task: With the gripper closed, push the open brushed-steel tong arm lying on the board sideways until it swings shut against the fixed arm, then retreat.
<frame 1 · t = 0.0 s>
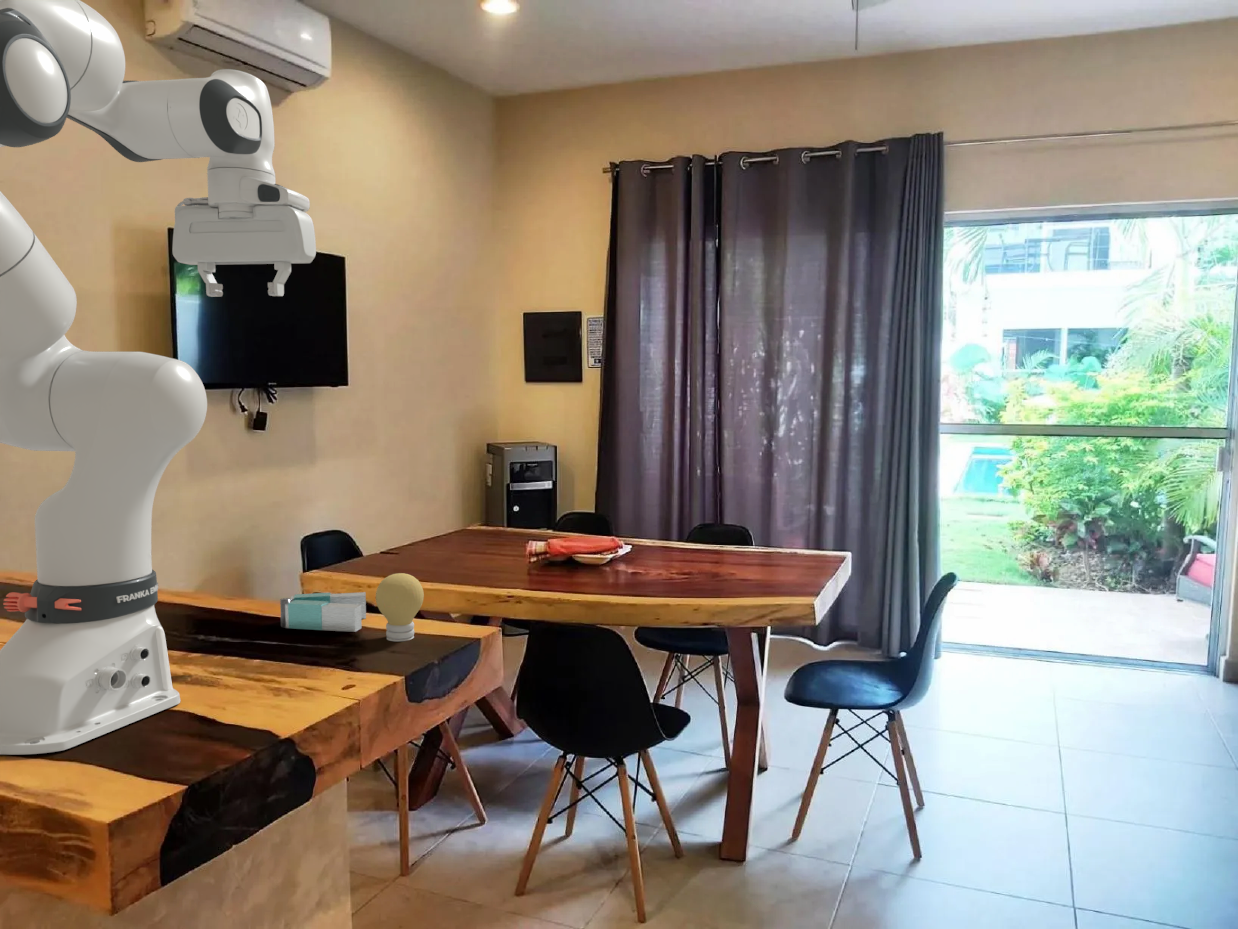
hand: (245, 296, 127), 48 cm above the counter, fingers open, 8 cm apart
board: (329, 629, 131), on the counter
tongs fixed arm: (286, 626, 129), resting on board
light bulb: (400, 646, 123), on the counter
tong arm: (328, 606, 132), point 3 cm above the counter, hinge at 25.0°
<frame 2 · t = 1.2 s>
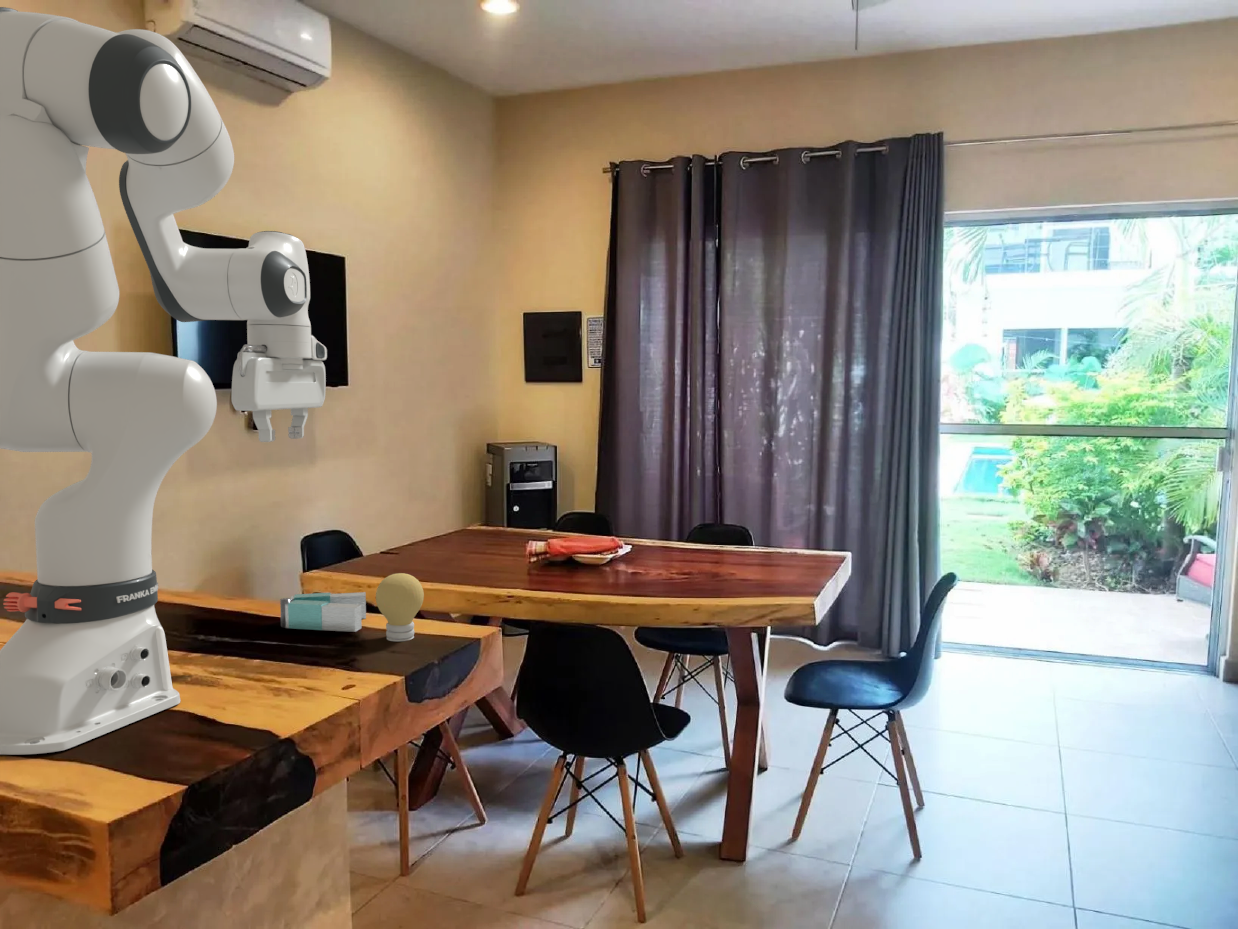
hand: (282, 440, 134), 27 cm above the counter, fingers open, 7 cm apart
nothing on the counter moved.
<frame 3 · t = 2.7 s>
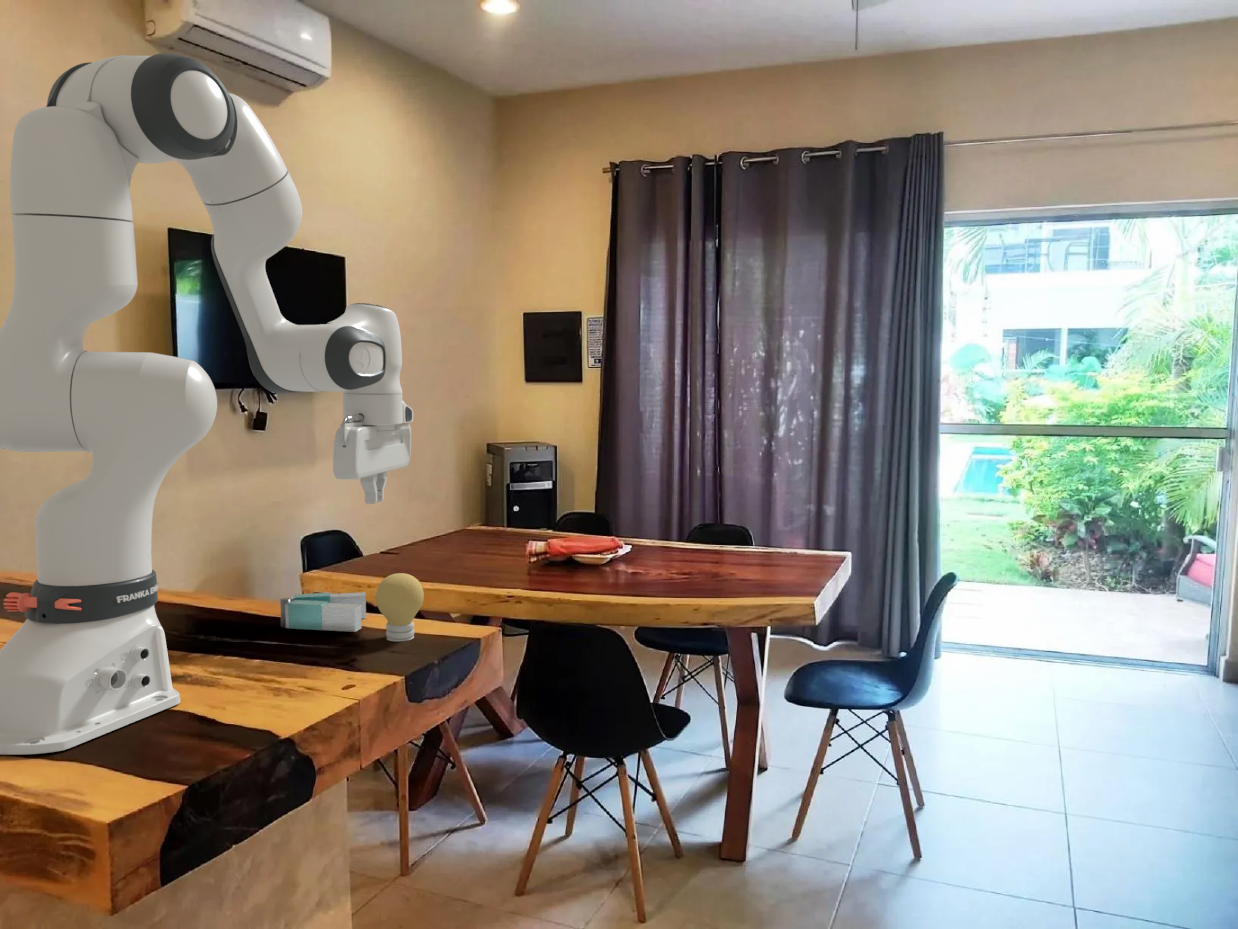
hand: (374, 502, 138), 18 cm above the counter, fingers closed
nothing on the counter moved.
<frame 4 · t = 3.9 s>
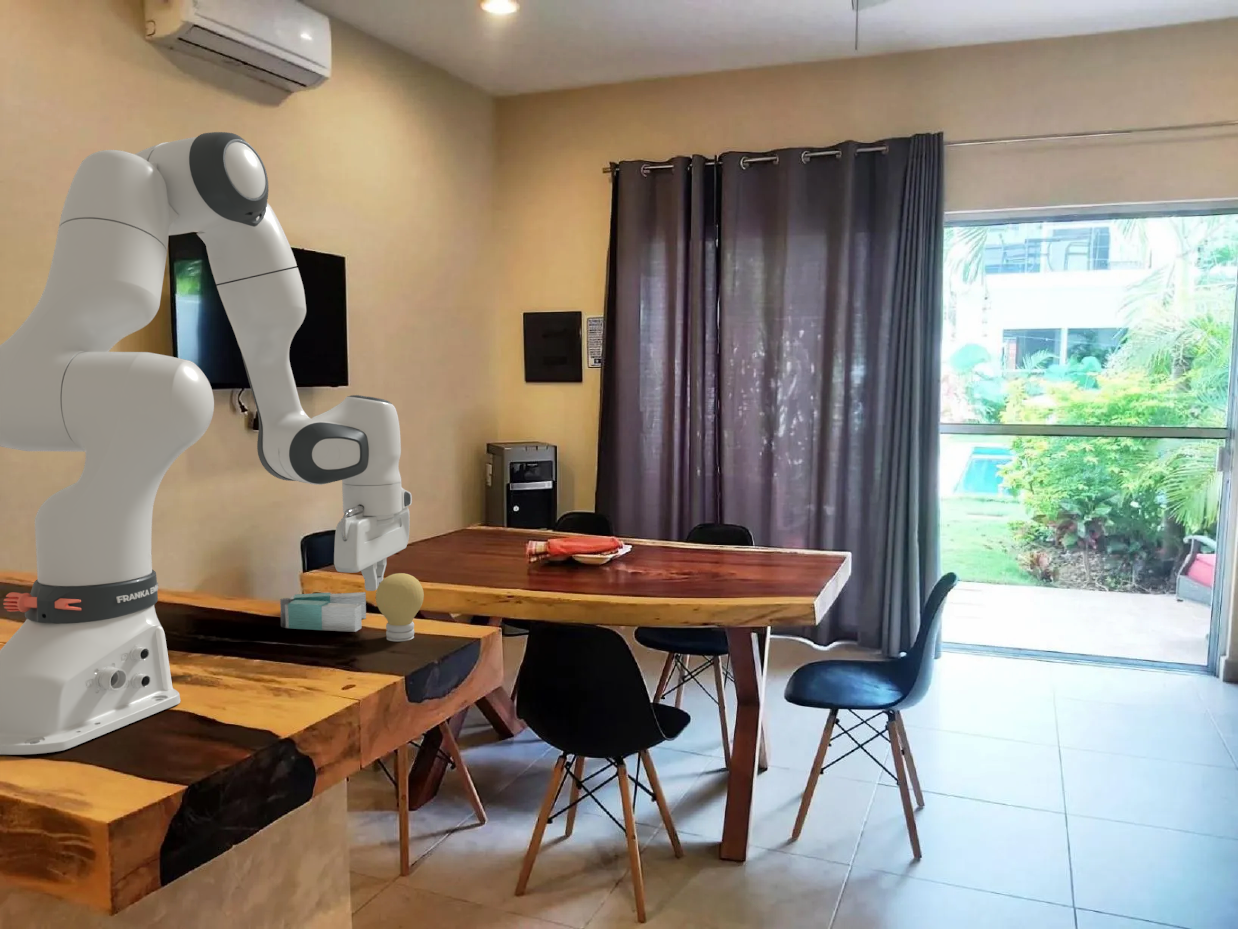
hand: (374, 588, 140), 4 cm above the counter, fingers closed
nothing on the counter moved.
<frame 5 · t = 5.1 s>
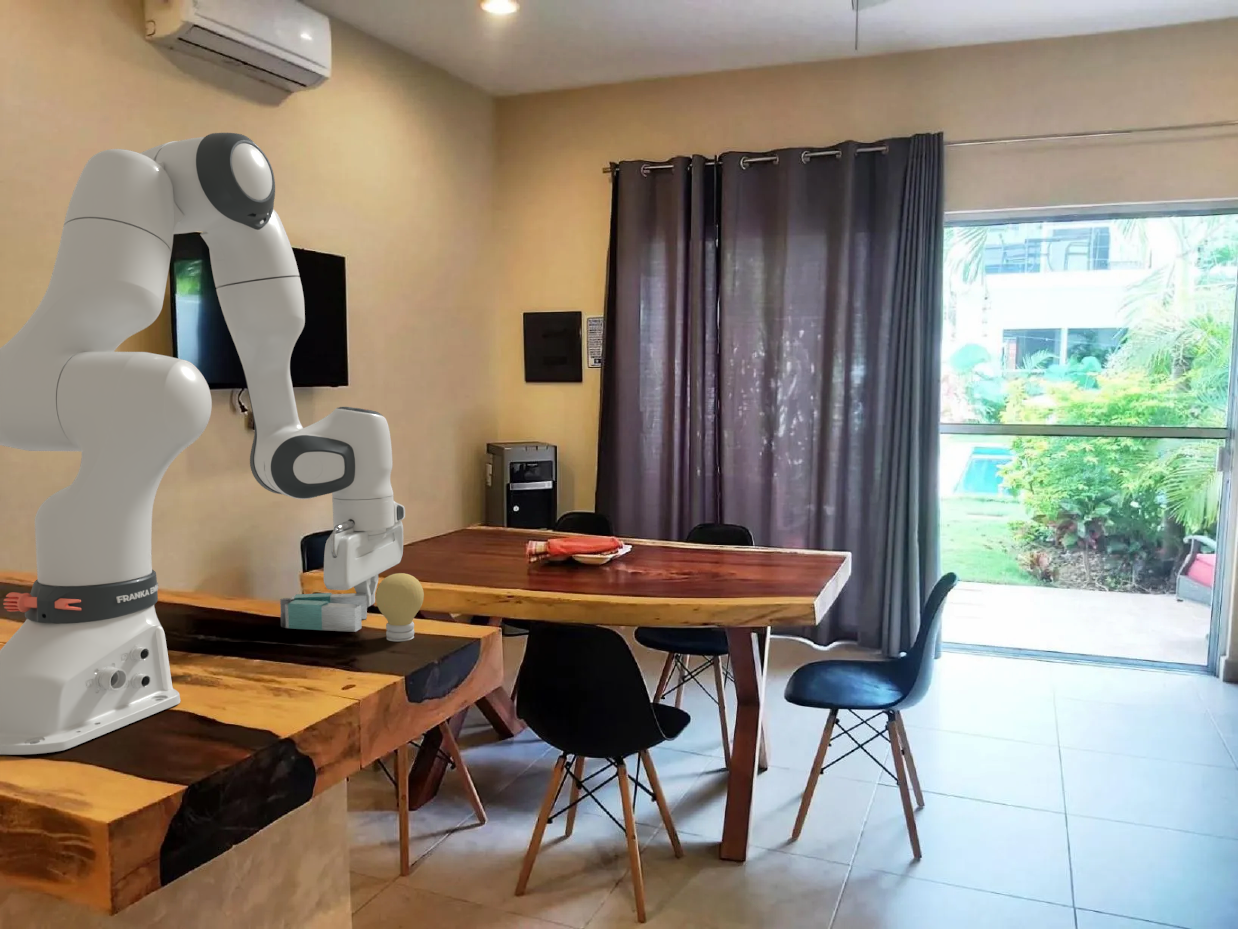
hand: (366, 605, 136), 2 cm above the counter, fingers closed
tong arm: (329, 606, 132), point 3 cm above the counter, hinge at 22.7°, touching gripper
everything else where it was.
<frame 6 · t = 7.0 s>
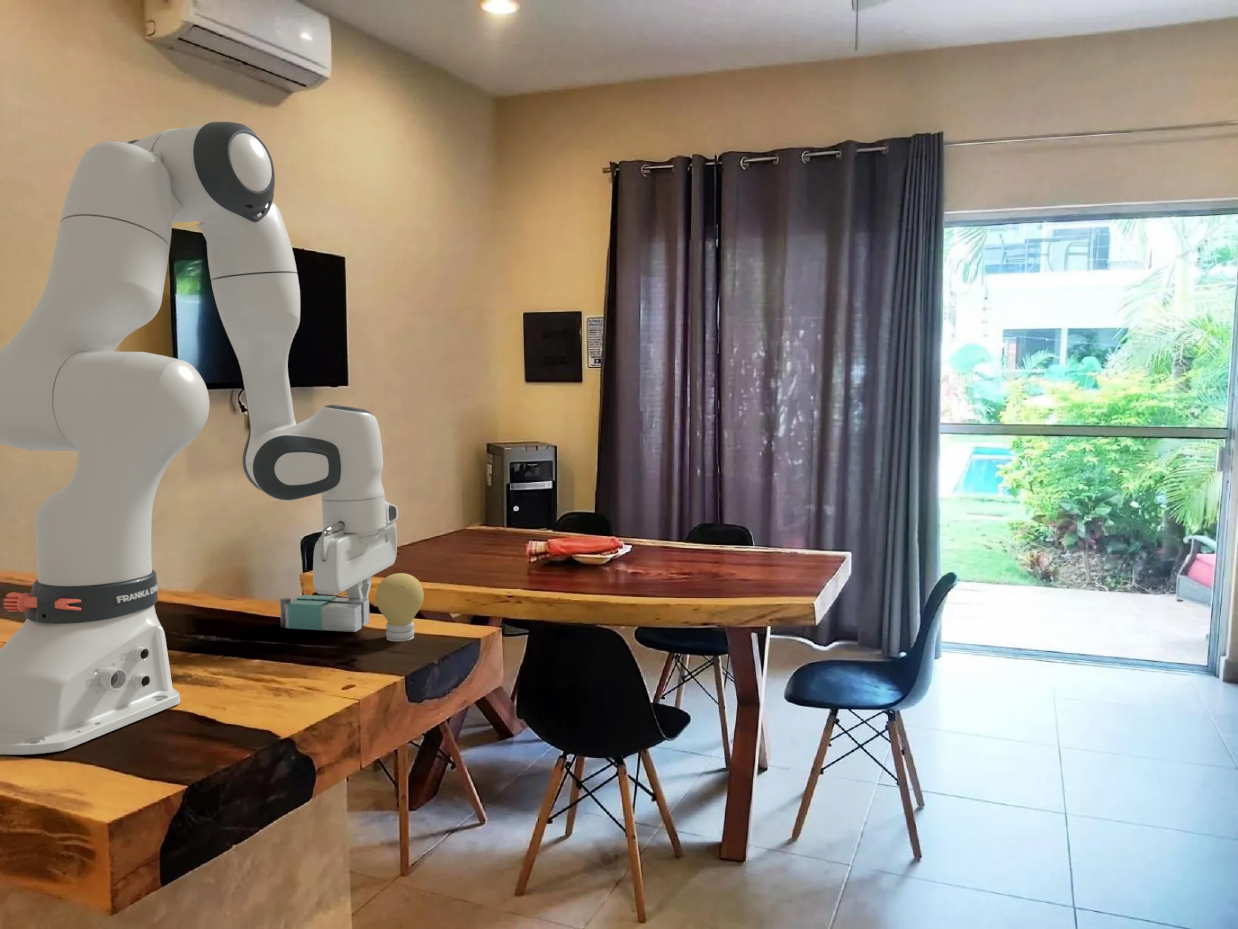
hand: (359, 609, 132), 3 cm above the counter, fingers closed
tong arm: (331, 610, 130), point 3 cm above the counter, hinge at 3.1°, touching gripper
everything else where it was.
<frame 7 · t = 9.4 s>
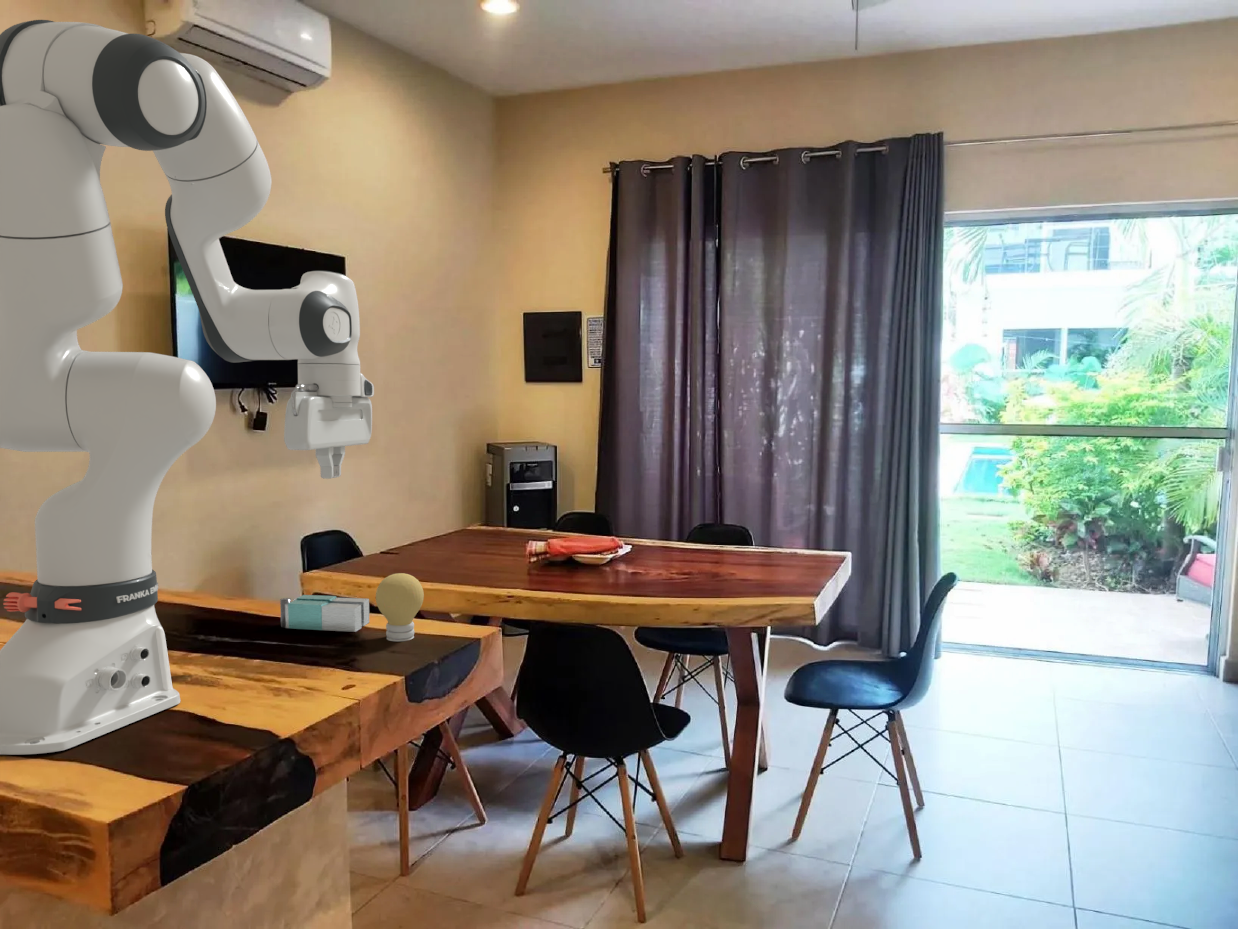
hand: (330, 477, 134), 22 cm above the counter, fingers closed
tong arm: (331, 610, 130), point 3 cm above the counter, hinge at 3.0°
everything else where it was.
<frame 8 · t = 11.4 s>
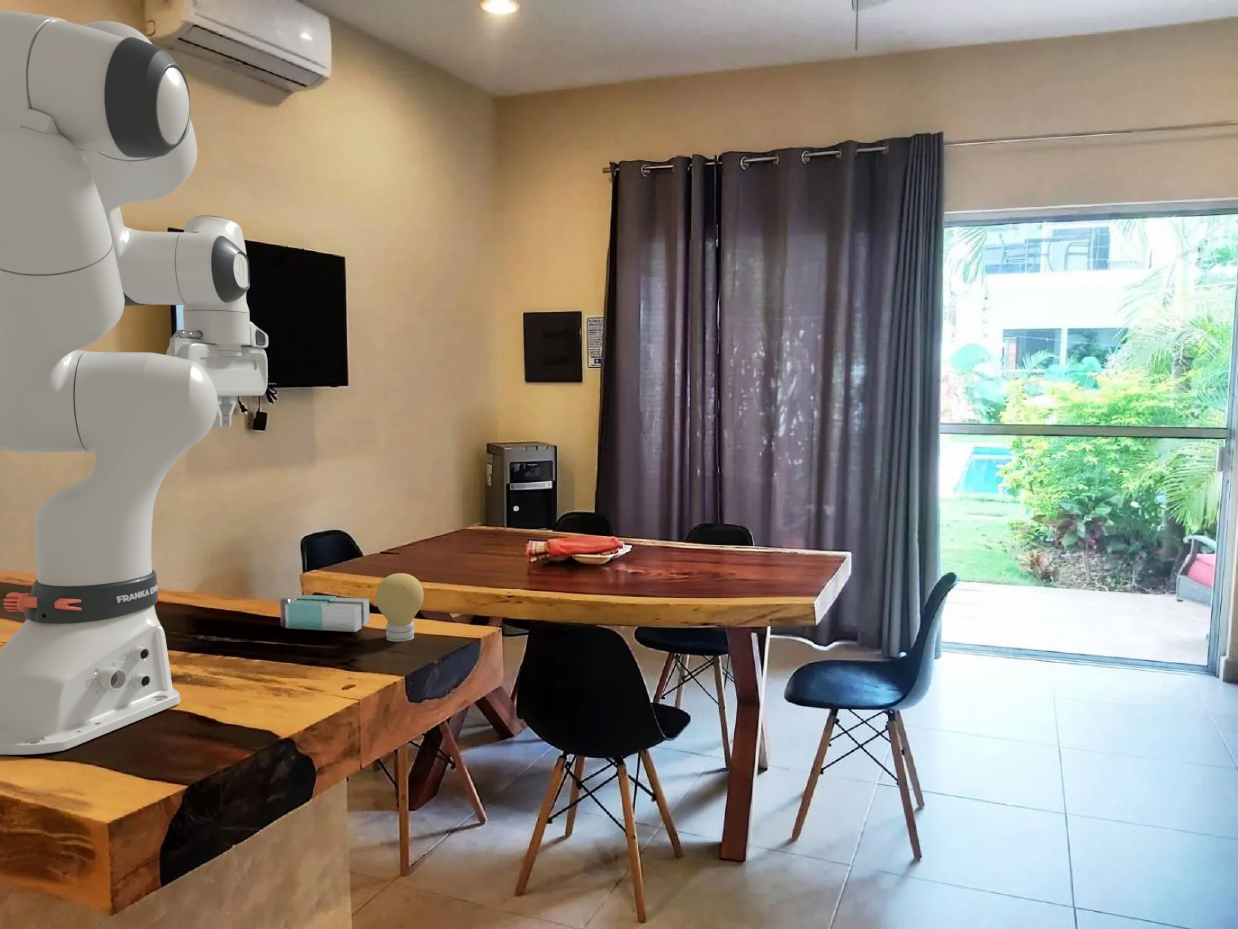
hand: (220, 428, 132), 29 cm above the counter, fingers closed
nothing on the counter moved.
at the end: tong arm at +3° (first picture: +25°); light bulb moved 0.2 cm from its start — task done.
